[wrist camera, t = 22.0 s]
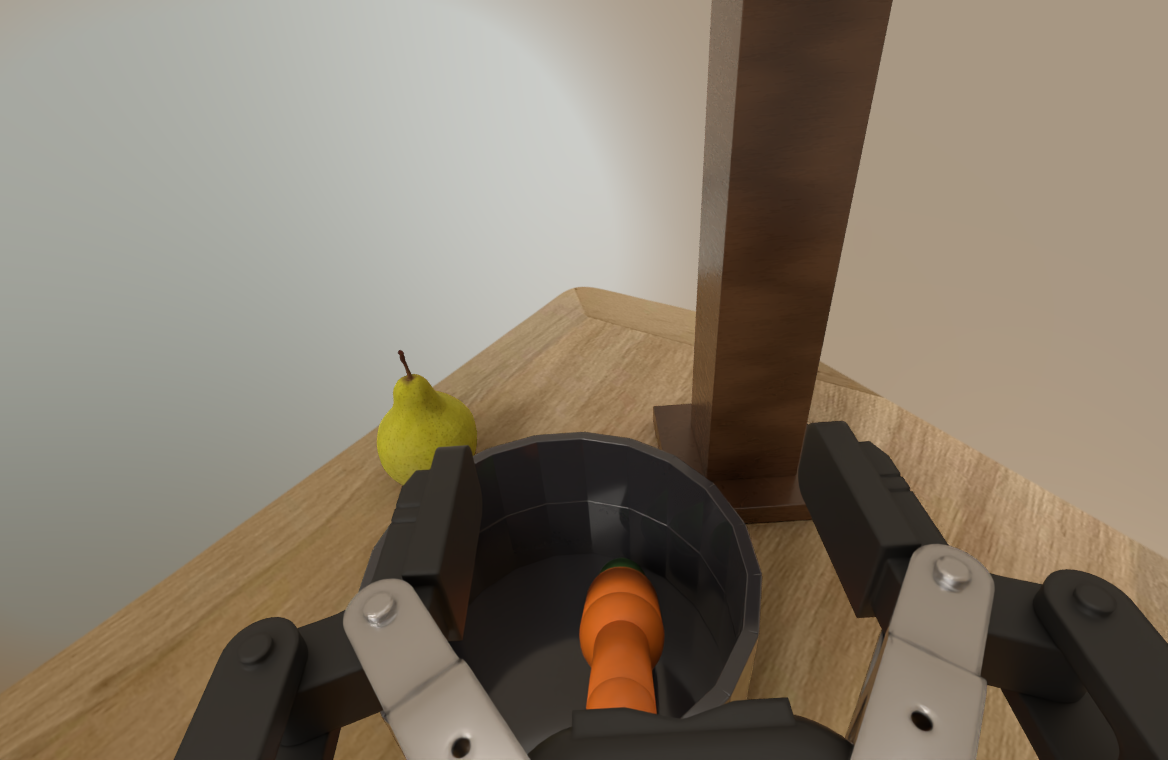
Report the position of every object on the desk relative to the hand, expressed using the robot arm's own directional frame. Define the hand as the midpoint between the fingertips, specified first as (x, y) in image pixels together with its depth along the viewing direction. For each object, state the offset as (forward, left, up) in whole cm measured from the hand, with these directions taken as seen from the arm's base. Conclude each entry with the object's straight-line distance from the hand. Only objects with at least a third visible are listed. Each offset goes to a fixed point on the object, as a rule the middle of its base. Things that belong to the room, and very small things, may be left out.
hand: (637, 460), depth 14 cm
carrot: (0, -3, -15) cm, 15 cm away
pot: (+3, -5, -20) cm, 21 cm away
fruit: (+13, -21, -20) cm, 32 cm away
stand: (-9, -20, -20) cm, 30 cm away
